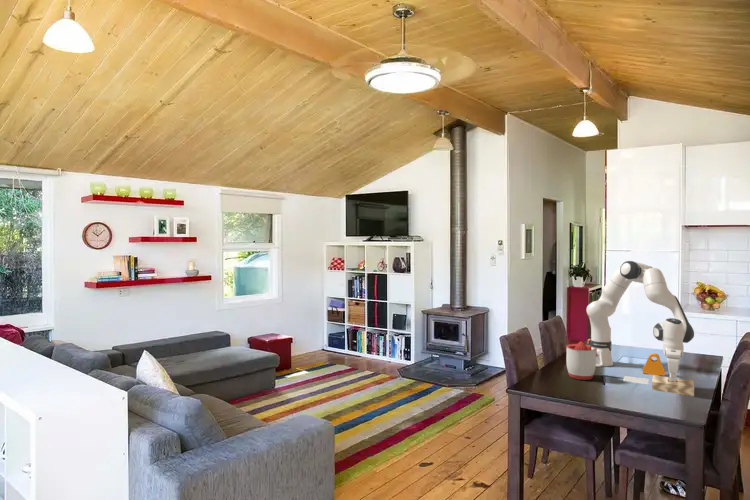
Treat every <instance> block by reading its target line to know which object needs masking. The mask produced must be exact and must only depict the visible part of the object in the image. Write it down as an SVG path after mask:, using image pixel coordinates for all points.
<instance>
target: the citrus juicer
mask: <svg viewBox="0 0 750 500" xmlns="http://www.w3.org/2000/svg"><path fill="white" fill-rule="evenodd" d="M565 347H566V358H565V359H566V360H565V361H566V369H567V372H568V375H569V377H570V378H572V379H576V380H578V381H579V380H581V381H583V380H587V381H588V380H592V379H593V377H594V376H595V371H596V367H597V366H596V357H597V356H598V357H599V355H598V354H597V348H595V349H593V350H591V346H590V345H587V344H586V343H584V342H583V341H579V342H578V343H569V344H566V346H565Z"/></svg>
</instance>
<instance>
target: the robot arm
mask: <svg viewBox="0 0 750 500" xmlns="http://www.w3.org/2000/svg"><path fill="white" fill-rule="evenodd" d="M633 282H635V283H639V284H643V289H644V293H645V297H646V298H647V299H648V300H649V301H650V302H652V303H654V304H656V305H659V306H663V307H666V308H667V309H669V310H670V311H671V313H672V315H673V317H674V318H671V317H669V318H665V320H664V321H663V322H658V323H656V324H655V325H654V327H653V334H652V335H653V337H654V338H655V339H657V341H660V342H663V346H662V348H663V350H662V351H663V352H662V353H663V354H664V356H665V358H666V360H667V370H668V373H669V374H670V373H671V381H675V374H676V375H677V374H678V371H679V367H680V360H681V359H682V357H683V356H684V348H685V347H684V344H687V343H690V342H691V341H692V340H693V339H694V337H695V332H694V331H695V330H694V328H693V327H692V325H691V324H690V322H689V320H688V318H687V316H686V314H685V311H684V309H683V307H682V305H681V302H680V301H679V299H678V297H677V296H676V295H674V294H673V293H672V292H671V291H670V289H669V288H668V285H667V281H666V278H665V276H664V274H663V272H662V271H661V269H659V268H657V267H653V266H649V265H647V264H645V263H641V262H638V261H637V262H636V261H632V260H628V261H627V260H626V261H624V262H622V264H621V265H620V266H618V268H616V269H615V271H614V272H613V273H612V274H611V276H610V277H609V279H608V280H607V282H606V284H605V285H604V286H603V288H602V293H601V295H600V296H599V299H597V300H595V301H594V300H593V301H591V302H590V303H589V304H588V305H587V306H586V310H585V311H586V314H587V316H588V318H589V323H590V338H588V339H587V344H586V345H590V346H591V350H593V349H595V348H597V354H598V355H599V357H598V356H597V357H596V367H599V368H600V367H612V366H614V363H613V358H612V349H613V348H612V346H613V345H612V328H611V327H610V323H609V317H612V315H614V313H615V312H616V309H617V307H618V305H619V303H620V300H621V298H622V297H623V296H624V294H625V292H626V291H627V289H628V288H629V287H630V284H631V283H633Z"/></svg>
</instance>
